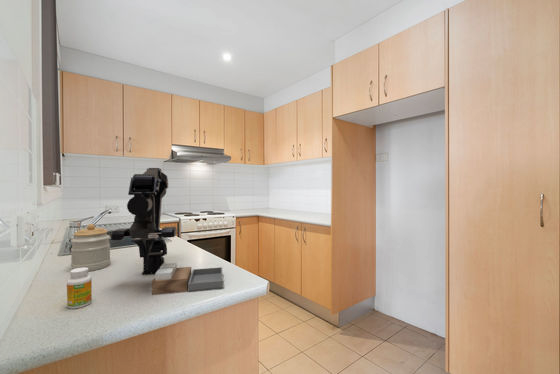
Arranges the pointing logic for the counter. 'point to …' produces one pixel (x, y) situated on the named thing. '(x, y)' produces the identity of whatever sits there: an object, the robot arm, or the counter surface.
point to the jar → (90, 248)
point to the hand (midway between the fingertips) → (145, 259)
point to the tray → (205, 279)
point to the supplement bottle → (79, 288)
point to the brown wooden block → (173, 282)
